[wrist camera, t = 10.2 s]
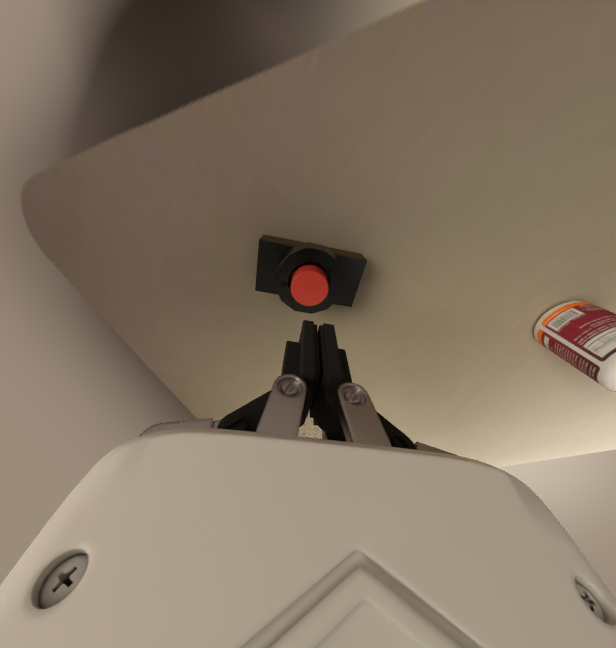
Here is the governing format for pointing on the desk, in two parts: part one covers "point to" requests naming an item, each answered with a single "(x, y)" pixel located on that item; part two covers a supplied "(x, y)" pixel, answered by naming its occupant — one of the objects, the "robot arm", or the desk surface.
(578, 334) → the pill bottle
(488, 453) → the desk surface
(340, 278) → the button housing
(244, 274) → the desk surface
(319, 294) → the button
